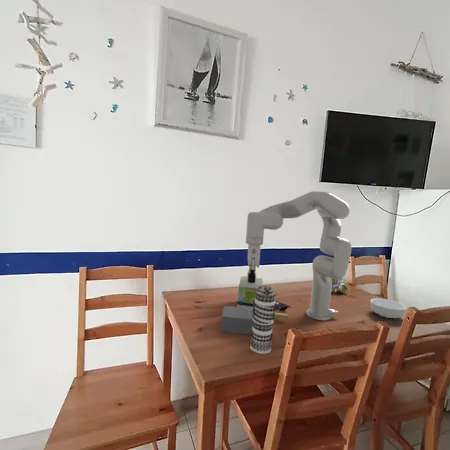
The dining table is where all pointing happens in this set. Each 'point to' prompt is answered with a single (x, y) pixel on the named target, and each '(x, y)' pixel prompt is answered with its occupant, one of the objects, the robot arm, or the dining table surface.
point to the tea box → (246, 297)
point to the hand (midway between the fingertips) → (251, 280)
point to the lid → (247, 284)
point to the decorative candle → (263, 320)
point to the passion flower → (339, 285)
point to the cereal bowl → (387, 308)
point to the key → (280, 316)
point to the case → (237, 320)
